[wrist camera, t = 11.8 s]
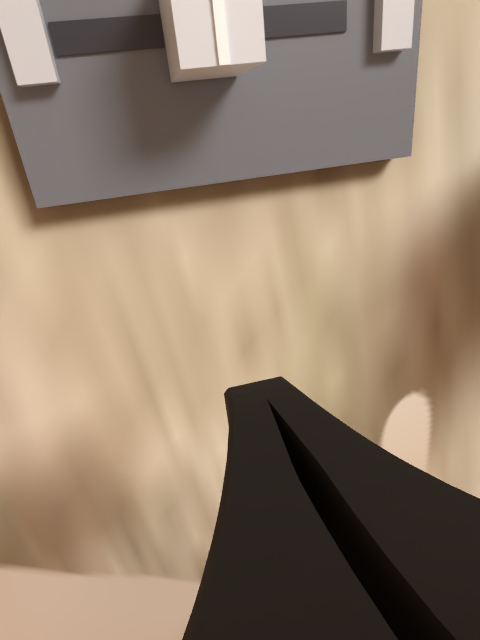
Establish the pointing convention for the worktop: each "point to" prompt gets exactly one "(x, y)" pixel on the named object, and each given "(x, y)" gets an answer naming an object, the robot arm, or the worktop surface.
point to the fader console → (201, 96)
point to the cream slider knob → (212, 37)
